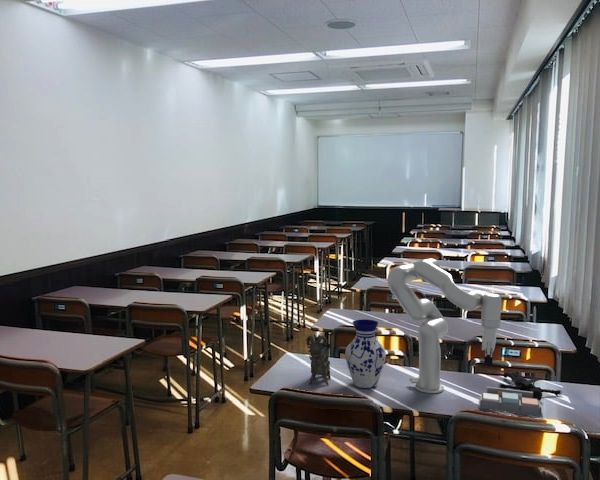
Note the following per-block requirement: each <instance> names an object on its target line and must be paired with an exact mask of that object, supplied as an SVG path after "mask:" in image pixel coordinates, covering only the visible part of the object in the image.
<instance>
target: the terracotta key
mask: <svg viewBox="0 0 600 480" xmlns="http://www.w3.org/2000/svg"><path fill="white" fill-rule="evenodd" d="M521 405H528V406H536V407H538V400H537V399H532V398H524V397H521Z"/></svg>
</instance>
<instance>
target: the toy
mask: <svg viewBox="0 0 600 480" xmlns="http://www.w3.org/2000/svg"><path fill="white" fill-rule="evenodd" d="M503 378H504V379H507V378H510V380H511V382H512V383H513V384H514V385H513V384H512V385H510V384H504V383H499V384H497V385H498V386H497V388H504V389H513V390H521V391H530V392H533V399H537V400H540V401H541V400H542V398H543V393H546V394H552V395H553V394H554V395H555V396H556V397H558V396H562V394H563V392H562V390H561V389H560V390H559V389H558V390H554V389H547V388H541V387H540V386H536V385H535V383H536V382H539V381H540V380H541V379H540V378H538V377H534V378H531V379H526V378H524V376H523V375H520V374H518V373H516V372H508V371H504V373H503Z"/></svg>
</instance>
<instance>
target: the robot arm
mask: <svg viewBox="0 0 600 480" xmlns="http://www.w3.org/2000/svg"><path fill="white" fill-rule="evenodd" d="M420 279H422V280H423V281H424V282H426V283H428V284H429V285H431V286H433V287H434V288H436V289H437V290H439V291H440V292H441V293H442V295H443V296H444V297H445V298H446V299H447V300H448V302H450V303H452V304H454V305H455V306H456V307H458V308H460V309H461V310H464V311H466V312H467V311H468V312H473V311H474V310H476V309H479V308H481V318H480V319H481V321H480V326H481V327H482V328H483V329H482V338H481V339H482V340H481V350H482V351H484V352H485V353H484V362H483V363H484V364H483V365H484V366H487V367H493V360H494V358H493V357H494V356H493V352H495V347H496V342H497V332H498V331H497V329H500V328H501V317H502V316H501V314H502V296H501V295H500V294H497V293H492V292H491V293H488V292H484V291H482V290H478V289H474V290H471V291H468V292H467V291H466V290H463V288H460V287H459V286H458V285H457V284H455V282H454V281H453V276H452V274H451V273H449V272H447V271H446V270H444V269H443V268H441V264H440V262H439V261H438V260H437V259H435V258H430V257H429V258H424V259H420V260H417V261H415V262H409V263H406V264H401V265H397V266H395V267H393V268H391V270H390V271H389V272H388V274H387V279H386V281H387V286H388V289H389V291H390V292H391V294H392V295H393V296H394V298H395V299H396V300H397V302H398V303H399V305H400V307H402V309H403V311H404V312H405V314H406V315H407V317H408V318H409V319H410V320H411V321H412V322H415V323H418V322H422V321H423V322H422V323H421V324H420V325H419V326H418V329H417V340H418V351H419V352H418V354H419V356H418V359H419V360H418V364H419V365H418V377H417V376H416V377H413V376H412V377H411V376H410V377H409V379H408V380H409V382H411V384H415V389H416V390H417V391H419V392H422V393H426V394H439V393H441V392H443V391H444V389H445V388H444V385H443V384H441V357H442V356H441V353H442V352H441V346H440V342H439V341H440V339H442V338H443V337H445V336H447V334H448V332H449V325H448V322H447V320H446V319H445V317H444V316H443V314H442V313H441V312H440V310H439V309H438V308H437V306H436V305H435V304H434V303H433V302H432V301H431V300H429V299H428V298H419V297H418V296H417V294H416V293H415V291H414V290H413V289H412V288H410V287H409V286H408V284H407V283H409V282H413V281H416V280H417V281H418V280H420Z"/></svg>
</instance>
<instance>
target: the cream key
mask: <svg viewBox="0 0 600 480" xmlns="http://www.w3.org/2000/svg"><path fill="white" fill-rule="evenodd" d="M482 394H483V400H487V401H495V402H499V396H498V394H490V393H487V392H483V393H482Z"/></svg>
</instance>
